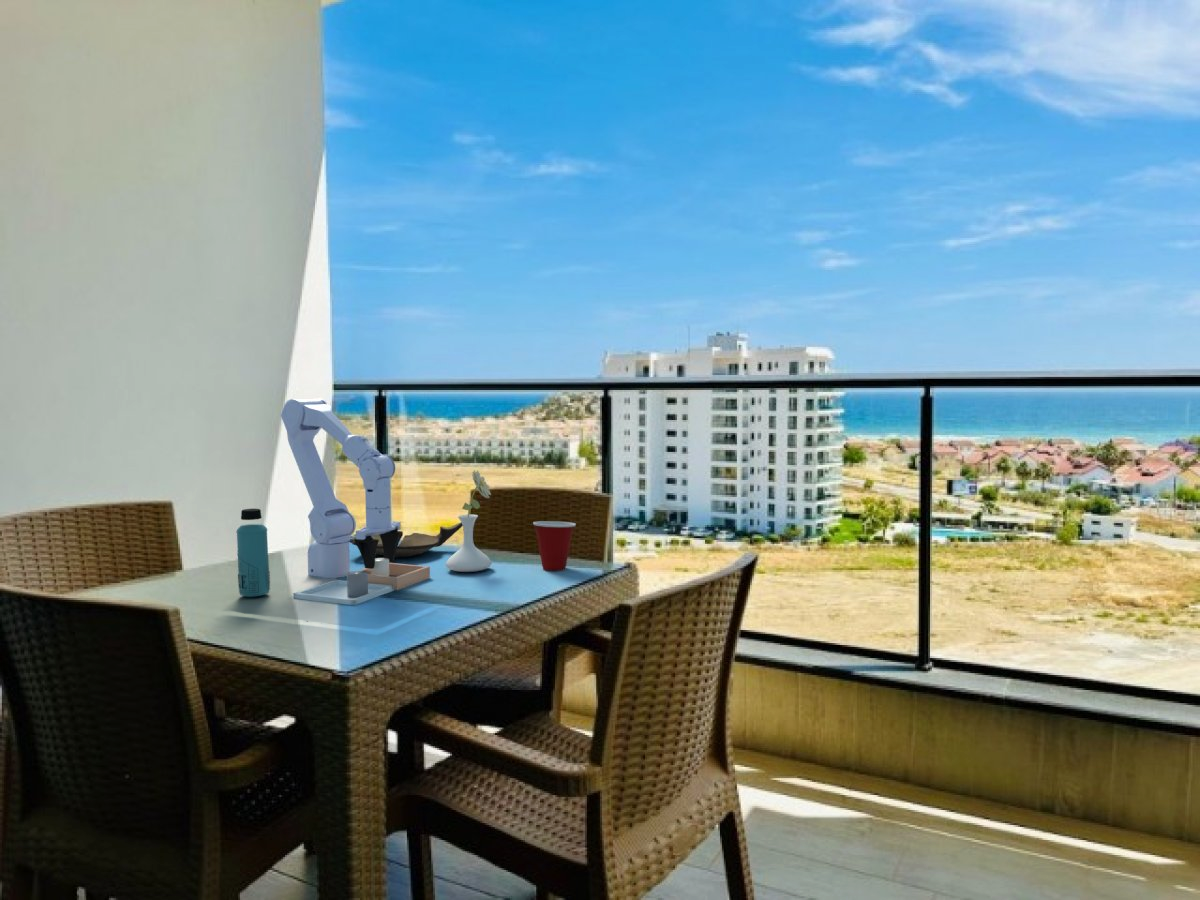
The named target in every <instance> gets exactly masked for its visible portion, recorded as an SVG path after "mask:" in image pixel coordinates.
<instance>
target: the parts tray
mask: <svg viewBox="0 0 1200 900" xmlns="http://www.w3.org/2000/svg"><path fill="white" fill-rule="evenodd" d="M394 591H395V590H394V586H392V585H382V584H372V583H368V594H366V595H363V596H360V597H358V598H350V597H348V596H347V580H341V579H334V580H331V581H327V582H325V583H322V584H319V585H314V586H312V587H309V588H306V589H303V590H300V591H296V592H294V593H293V594H292V595H293V599H296V600H298V599H299V600H307V601H315V602H324V603H331V604H340V605H348V606H356V605H359V604H363V603H364V602H366V601H371V600H372V599H375V598H377V597H380V596H383V595H385V594H388V593H391V592H394Z"/></svg>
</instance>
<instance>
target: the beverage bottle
mask: <svg viewBox="0 0 1200 900" xmlns="http://www.w3.org/2000/svg"><path fill="white" fill-rule="evenodd" d="M240 513H241V515H240V519H241V520H242V521H253V520H254V521H255V520H256V521H257V520H260V519H262V510H261V509H260V508H245V509H242V510H241V512H240ZM236 540H237V541H236V543H237V545H236V546H237V553H236V554H237V568H238V569H237V571H238V573H237V583H238V592H239V595H240V596H242V597H260V596H263V595H267V594H269V593H270V590H271V574H270V573H271V571H270V559H269V546H268V545H269V543H268V527H266V525H264V524H262V523H257V522H253V523H251V522H250V523H244V524H241V525H240V526H239V527H238V528H237V529H236Z"/></svg>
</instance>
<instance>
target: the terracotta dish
mask: <svg viewBox="0 0 1200 900" xmlns="http://www.w3.org/2000/svg"><path fill="white" fill-rule="evenodd" d="M357 571H367V572H368V583H372V584H382V585H392V586H394V591H399V590H401V589H405V588H407V587H409V586H412V585H415V584H418V583H420V582H423V581H426V580H428V579H429V580H430V579H431V567H430V566H429V565H428V566H426V565H418V564H417V565H416V564H415V565H414V564H405V563H395V562H389V575H390V576H382V575H372V574H370V569H369V568H365V567H364V568H363V569H359V570H357Z"/></svg>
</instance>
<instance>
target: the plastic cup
mask: <svg viewBox="0 0 1200 900" xmlns="http://www.w3.org/2000/svg"><path fill="white" fill-rule="evenodd" d="M532 524H533V526H534V529H535V534H536V538H537V542H538V543H537V545H538V551H539V555H540V561H541V566H542V569H543V570H544V571H547V570H548V572H557V571H556V570H561V571H564V570H565V569H566V568H567V562H568V557H569V552H570V548H571V547H570V546H571V541H572V536H573V532H574V528H575V527H576V525H577V524H576V522H575V523H574V522H571V521H570V522H569V521H555V520H554V521H553V520H552V521H551V520H550V521H549V520H547V521H546V520H545V521H544V520H543V521H542V520H541V521H539V520H538V521H533V522H532ZM563 569H564V570H563Z"/></svg>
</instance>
